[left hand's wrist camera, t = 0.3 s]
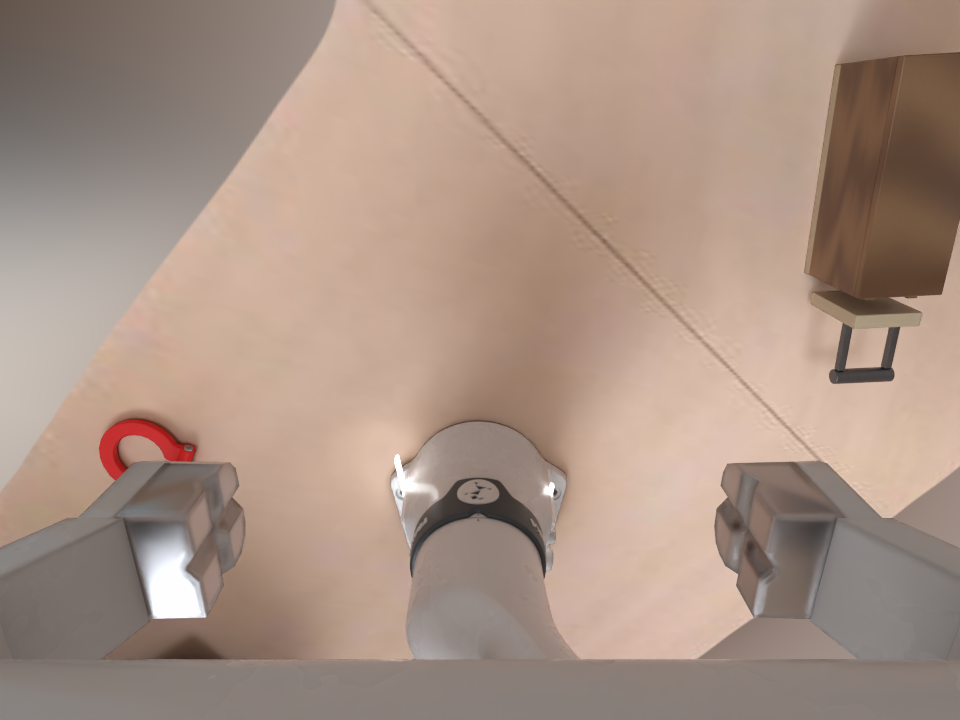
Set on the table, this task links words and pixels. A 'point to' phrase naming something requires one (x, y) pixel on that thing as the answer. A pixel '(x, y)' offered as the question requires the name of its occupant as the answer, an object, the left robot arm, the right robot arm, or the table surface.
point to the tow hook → (144, 429)
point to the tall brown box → (889, 177)
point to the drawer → (860, 317)
